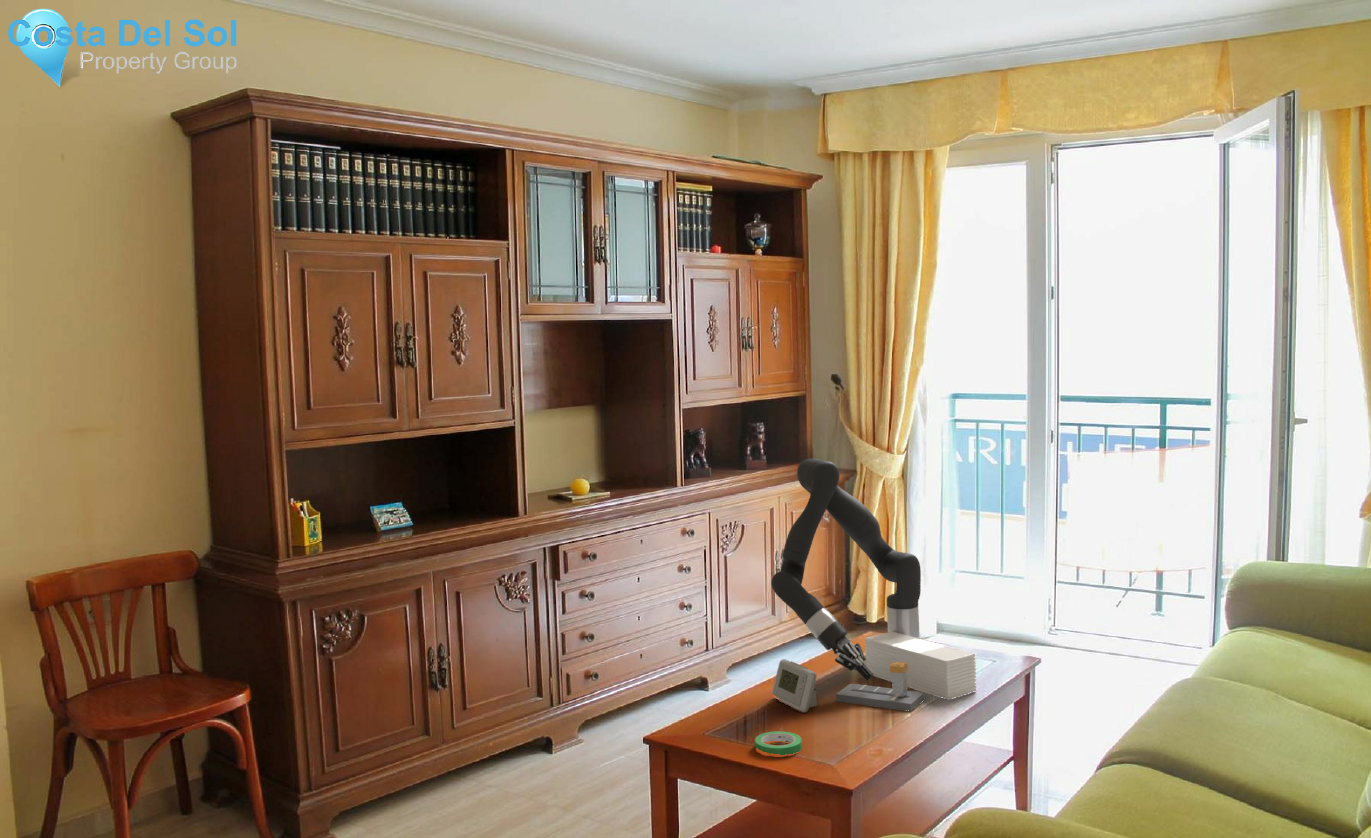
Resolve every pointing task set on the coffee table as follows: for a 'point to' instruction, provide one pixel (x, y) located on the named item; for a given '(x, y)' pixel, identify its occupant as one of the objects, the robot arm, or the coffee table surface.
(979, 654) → the coffee table surface
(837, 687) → the coffee table surface
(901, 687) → the fader
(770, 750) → the tape roll
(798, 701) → the digital clock
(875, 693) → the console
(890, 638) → the stack of papers
